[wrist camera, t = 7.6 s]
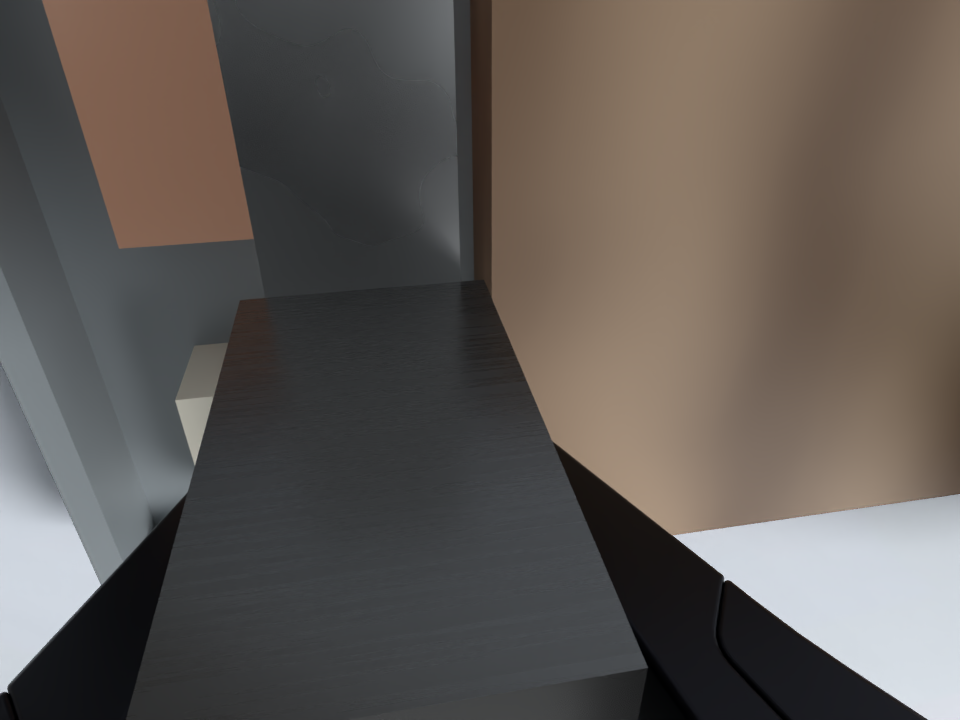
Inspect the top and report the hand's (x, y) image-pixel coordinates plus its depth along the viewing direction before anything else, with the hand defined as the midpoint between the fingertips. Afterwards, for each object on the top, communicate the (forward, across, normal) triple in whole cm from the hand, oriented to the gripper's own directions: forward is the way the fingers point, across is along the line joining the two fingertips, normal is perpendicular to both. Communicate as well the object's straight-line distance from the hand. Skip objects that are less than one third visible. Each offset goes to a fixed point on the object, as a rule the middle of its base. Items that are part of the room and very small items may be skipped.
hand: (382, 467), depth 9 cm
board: (+7, -9, 0) cm, 11 cm away
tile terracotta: (+6, +2, -4) cm, 7 cm away
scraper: (+4, 0, 0) cm, 4 cm away
